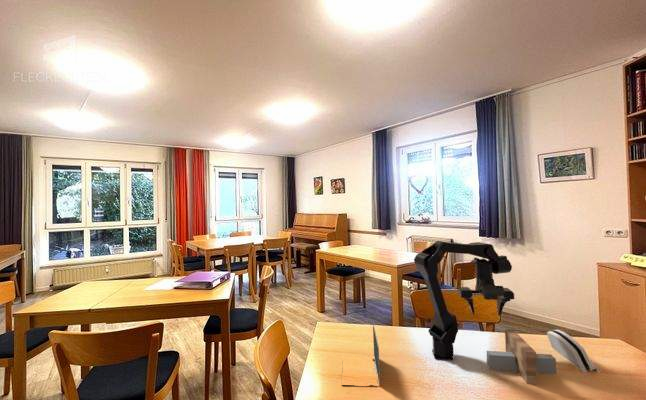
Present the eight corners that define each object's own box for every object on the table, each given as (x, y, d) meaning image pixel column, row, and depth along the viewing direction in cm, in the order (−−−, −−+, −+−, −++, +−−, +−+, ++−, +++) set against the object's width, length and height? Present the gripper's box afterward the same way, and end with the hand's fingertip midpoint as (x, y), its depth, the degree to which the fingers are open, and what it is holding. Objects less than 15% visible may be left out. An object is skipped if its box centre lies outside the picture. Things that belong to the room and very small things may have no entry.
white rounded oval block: (600, 372, 97) (587, 343, 97) (585, 377, 97) (572, 348, 98) (566, 347, 113) (555, 322, 114) (553, 351, 114) (542, 326, 114)
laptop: (342, 358, 113) (341, 323, 113) (375, 358, 112) (374, 323, 112) (341, 387, 95) (339, 346, 95) (380, 388, 94) (379, 346, 94)
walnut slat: (506, 356, 108) (504, 329, 108) (515, 357, 108) (513, 330, 108) (526, 383, 93) (525, 351, 93) (537, 384, 92) (536, 352, 92)
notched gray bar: (490, 369, 101) (489, 355, 101) (487, 364, 104) (486, 350, 104) (556, 374, 97) (555, 359, 97) (551, 369, 100) (550, 354, 100)
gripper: (464, 280, 109) (465, 322, 109) (520, 280, 105) (522, 324, 105) (456, 272, 120) (458, 311, 120) (507, 273, 116) (509, 312, 116)
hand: (486, 314), depth 115 cm, fingers open, 9 cm apart
